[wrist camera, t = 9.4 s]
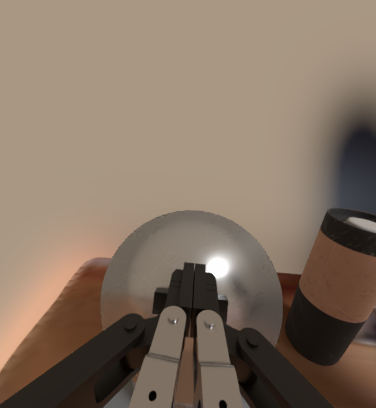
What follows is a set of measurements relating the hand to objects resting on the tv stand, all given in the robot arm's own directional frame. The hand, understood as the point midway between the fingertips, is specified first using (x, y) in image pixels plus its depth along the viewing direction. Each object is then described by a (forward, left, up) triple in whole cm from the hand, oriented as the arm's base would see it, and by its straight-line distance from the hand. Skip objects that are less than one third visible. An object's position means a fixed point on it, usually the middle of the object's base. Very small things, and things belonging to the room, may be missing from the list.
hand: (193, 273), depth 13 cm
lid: (0, -1, -3) cm, 3 cm away
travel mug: (-19, -10, -19) cm, 28 cm away
